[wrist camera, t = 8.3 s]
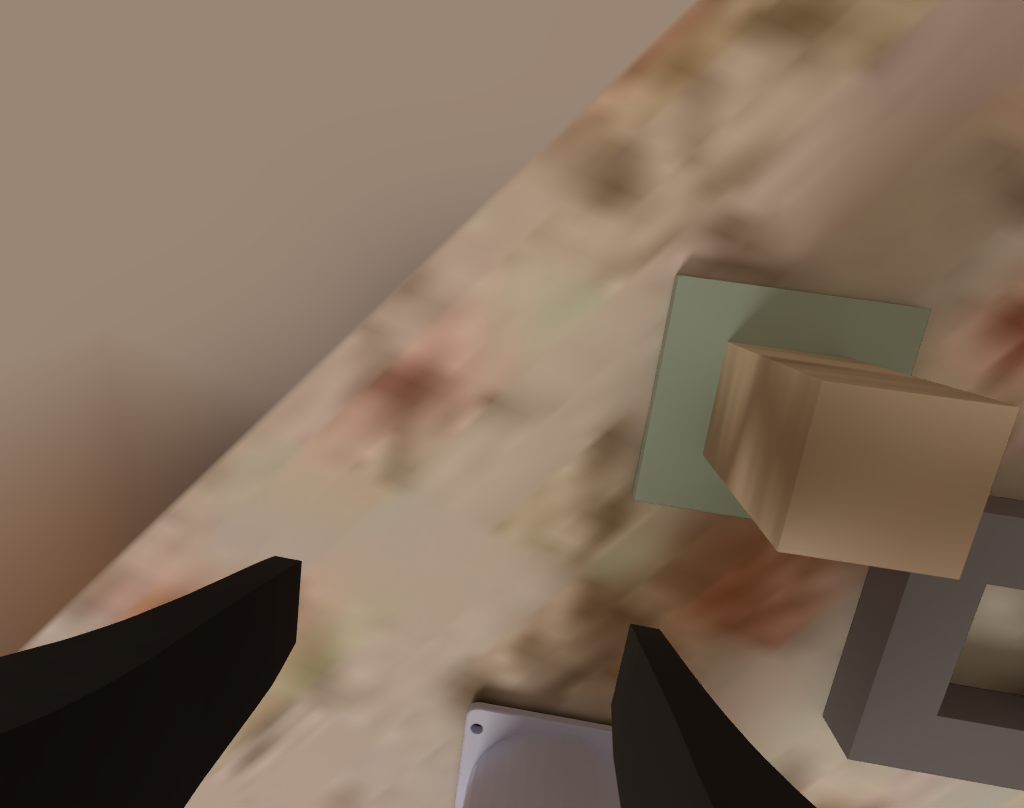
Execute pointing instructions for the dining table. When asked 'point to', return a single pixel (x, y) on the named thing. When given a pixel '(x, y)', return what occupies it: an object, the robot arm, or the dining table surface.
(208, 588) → the robot arm
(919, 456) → the beech block
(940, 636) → the pocket plate
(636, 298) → the dining table surface
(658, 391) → the green mat
